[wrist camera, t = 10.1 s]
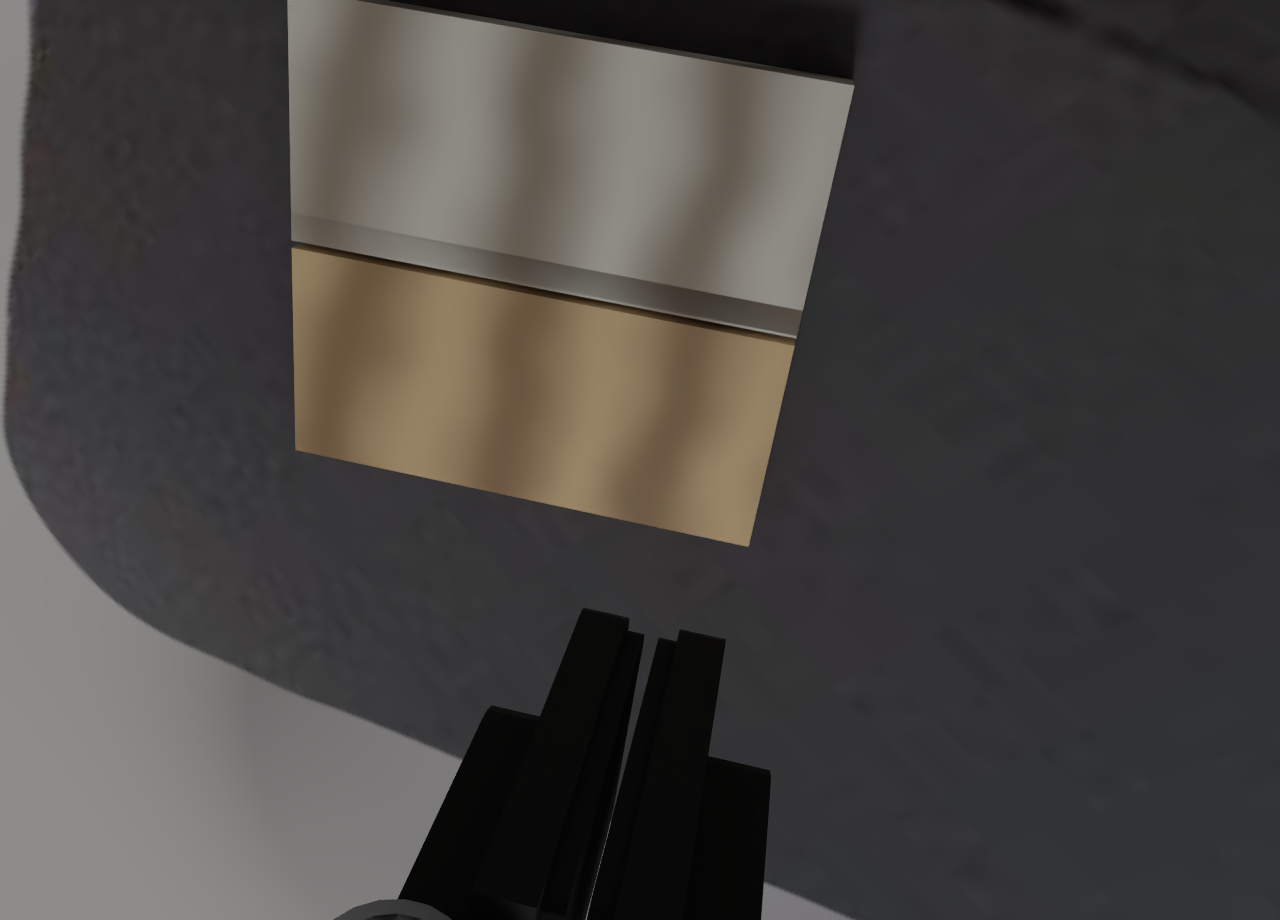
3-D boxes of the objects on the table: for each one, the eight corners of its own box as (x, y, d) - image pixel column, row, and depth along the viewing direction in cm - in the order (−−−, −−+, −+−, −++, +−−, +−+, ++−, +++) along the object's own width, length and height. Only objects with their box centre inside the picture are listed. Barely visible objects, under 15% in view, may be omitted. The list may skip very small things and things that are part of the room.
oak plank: (796, 329, 39) (794, 346, 37) (751, 523, 43) (748, 546, 41) (315, 236, 41) (291, 247, 39) (316, 431, 45) (295, 449, 43)
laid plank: (852, 79, 35) (854, 85, 33) (797, 320, 39) (796, 338, 37) (316, -12, 37) (287, -12, 35) (317, 227, 41) (291, 240, 39)
